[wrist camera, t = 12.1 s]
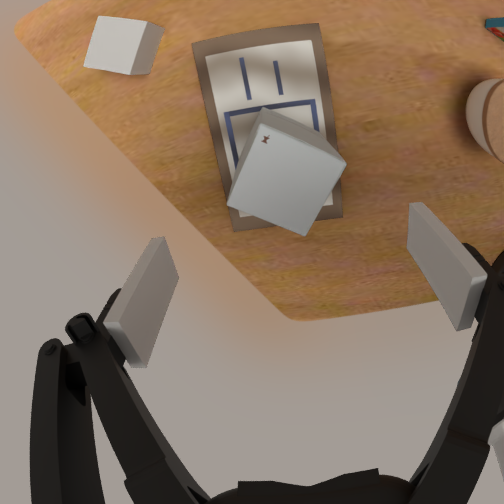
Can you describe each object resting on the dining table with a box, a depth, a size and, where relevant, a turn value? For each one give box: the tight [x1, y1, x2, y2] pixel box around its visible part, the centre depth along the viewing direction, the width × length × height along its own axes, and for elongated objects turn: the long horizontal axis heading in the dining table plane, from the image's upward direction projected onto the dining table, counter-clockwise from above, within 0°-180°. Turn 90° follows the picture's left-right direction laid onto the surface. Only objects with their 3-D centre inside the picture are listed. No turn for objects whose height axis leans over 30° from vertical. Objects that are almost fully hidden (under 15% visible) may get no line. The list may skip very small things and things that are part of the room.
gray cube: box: [83, 16, 165, 75], centre depth 27 cm, size 6×6×6 cm
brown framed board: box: [192, 23, 343, 232], centre depth 34 cm, size 24×14×1 cm, turn 10°
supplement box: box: [227, 107, 347, 236], centre depth 29 cm, size 7×7×13 cm
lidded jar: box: [466, 78, 504, 163], centre depth 26 cm, size 11×11×9 cm
